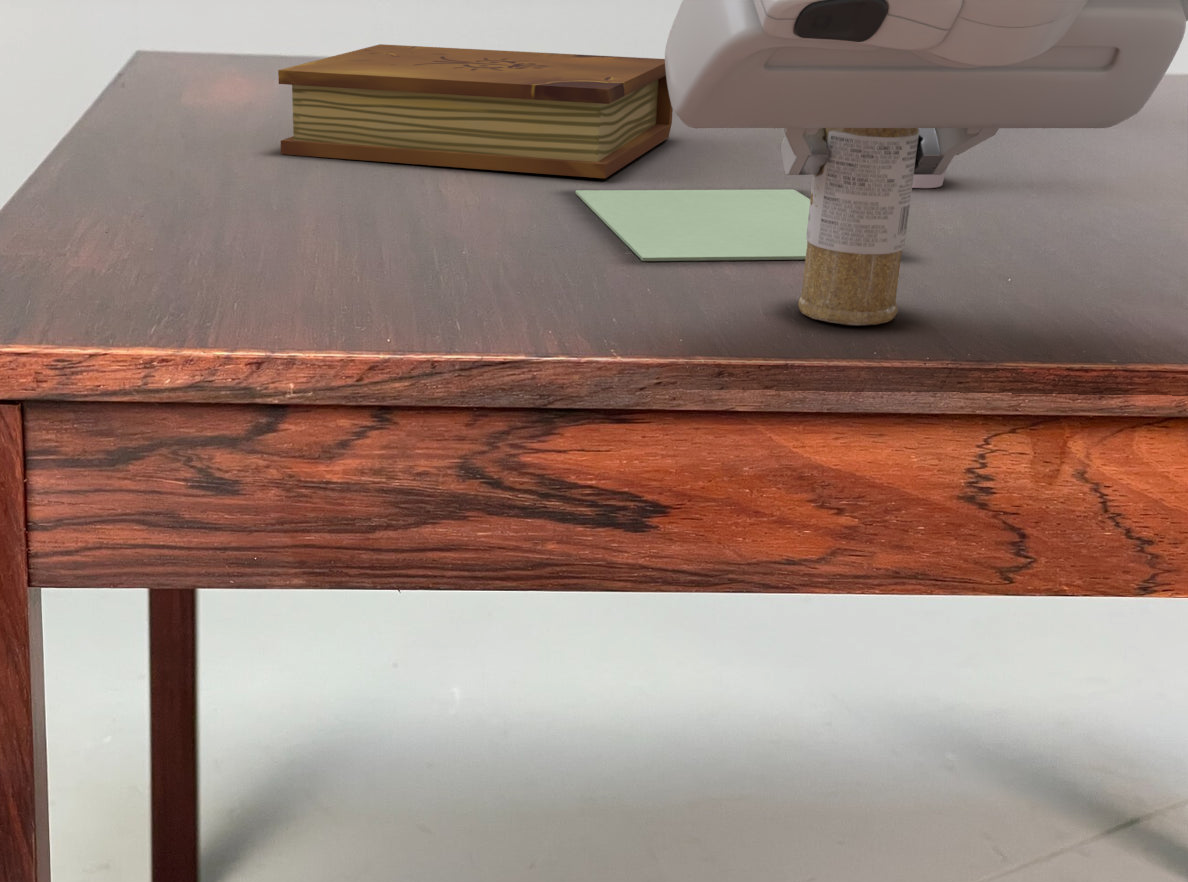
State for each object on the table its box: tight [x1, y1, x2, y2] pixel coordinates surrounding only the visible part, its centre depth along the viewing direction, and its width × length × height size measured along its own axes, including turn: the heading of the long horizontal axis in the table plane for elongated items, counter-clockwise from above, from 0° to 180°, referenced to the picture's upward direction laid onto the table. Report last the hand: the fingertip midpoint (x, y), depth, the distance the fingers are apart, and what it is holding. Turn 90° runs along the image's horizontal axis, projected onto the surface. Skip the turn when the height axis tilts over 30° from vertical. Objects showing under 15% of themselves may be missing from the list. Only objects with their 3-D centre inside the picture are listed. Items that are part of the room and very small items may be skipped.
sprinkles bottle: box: [798, 128, 919, 327], centre depth 72 cm, size 5×5×14 cm
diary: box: [277, 43, 674, 179], centre depth 115 cm, size 23×19×6 cm
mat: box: [575, 189, 810, 262], centre depth 93 cm, size 18×14×1 cm
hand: (858, 162), depth 73 cm, fingers closed on sprinkles bottle, 4 cm apart
